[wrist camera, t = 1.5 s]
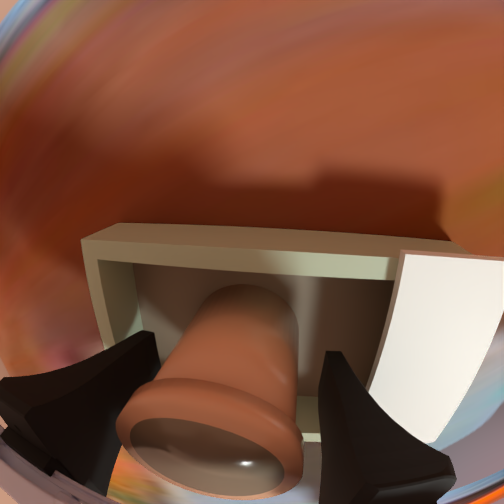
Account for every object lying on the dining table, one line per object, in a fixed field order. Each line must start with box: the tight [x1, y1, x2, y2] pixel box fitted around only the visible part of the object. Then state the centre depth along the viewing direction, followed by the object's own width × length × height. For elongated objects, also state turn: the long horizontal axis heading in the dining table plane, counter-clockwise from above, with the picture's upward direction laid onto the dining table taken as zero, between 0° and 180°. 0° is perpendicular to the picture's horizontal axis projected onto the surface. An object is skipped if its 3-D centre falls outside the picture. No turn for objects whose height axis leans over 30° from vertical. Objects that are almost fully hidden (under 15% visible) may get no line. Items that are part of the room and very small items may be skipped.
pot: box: [116, 284, 304, 500], centre depth 10 cm, size 6×6×8 cm
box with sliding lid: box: [81, 223, 504, 443], centre depth 12 cm, size 11×18×4 cm, turn 89°
